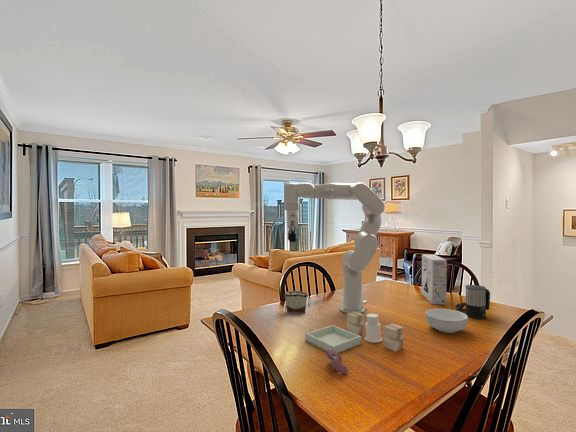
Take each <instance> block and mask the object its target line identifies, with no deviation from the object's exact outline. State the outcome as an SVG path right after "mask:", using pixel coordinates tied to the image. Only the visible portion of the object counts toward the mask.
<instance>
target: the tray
mask: <svg viewBox="0 0 576 432" xmlns="http://www.w3.org/2000/svg"><path fill="white" fill-rule="evenodd" d="M304 335H305V336H304V338H305V342H307V343H308V344H310V345H313V346H314V347H317V348H319V349H321V350H323V351H325V352H326V350H328V349H331V348H332V349H333V350H334V351H336V352H337V353H338V354H339V353H342V352H344V351H347V350H349V349H352V348H354V347H357V346H359V345H361V344H362V335H360V334H359V335H357V334H354V333H352V332H349V331H347V329H343V328H342V327H338V326H337V325H333V324H331V325H328V326H325V327H322V328H319V329H315V330H313V331H309V332H305V334H304Z"/></svg>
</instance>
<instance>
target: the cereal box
mask: <svg viewBox="0 0 576 432" xmlns="http://www.w3.org/2000/svg"><path fill="white" fill-rule="evenodd" d="M447 263H448V261H447V259H445V258H442V257H441V256H438V255H436V254H431V253H430V254H428V253H427V254H424V253H423V254H421V295H422V296H423V297H424V298H425V299H426V300H427V301H428V302H430V304H431V305H445V306H447V277H448V276H447V271H448V270H447V265H448V264H447Z"/></svg>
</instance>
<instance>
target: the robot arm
mask: <svg viewBox="0 0 576 432" xmlns="http://www.w3.org/2000/svg"><path fill="white" fill-rule="evenodd" d="M283 186H284V187H283V189H284V191H283V193H284V195H283V198H284V199H283V201H284V202H283V203H284V207H283V208H284V211H286V225H287V226H286V228H287V240H288V241H289V243H295V242H297V234H296V230H299V229H298V228H299V225H298V223H299V222H298V220H299V218H298V211H299V210H300V198H302V199H325V200H344V201H345V200H346V201H347V200H349V201H350V200H351V201H353V200H354V201H357V200H358V201H359V202H360V203H361V204H362V205H361V209H362V211H363V214H364V221H363V223H362V225H361V227H360V229H359V231H358V232H357V234H356V235H355V238H354V239H353V244H354V247H355V249H349V250H347V251H345V252H344V254H343V256H342V260H341V261H342V270H343V271H342V272H343V279H342V280H343V282H342V286H343V289H342V290H343V292H342V293H343V295H342V296H343V298H342V300H343V303H342V305H341V306H340V312H342V313H345V314H347V313H351V312H354V311H355V312H358V313H361V314H364V313H365V311H366V309H365V307H364V305H367V304H368V301H367V300H363V294H362V293H363V271H364V270H365V269H366V268H367V267H368V265H369V264H370V263H371V260H372V258H373V257H374V255H375V253H376V251H377V250H378V246H379V241H378V238H377V237H376V236H377V234H378V233H379V230H380V228H381V225H382V216H381V215H382V214H383V213H384V211H385V207H386V206H385V203H384V201H383V200H382V199H381V197H380V196H378V194H377V193H376V192H374V190H372V189H371V188H370V186H368V185H367V184H365V182H355V183H352V182H351V183H350V182H348V183H347V182H346V183H345V182H344V183H343V182H329V183H324V184H323V183H322V184H312V183H310V182H302V183H295V182H294V183H293V182H291V183H290V182H289V183H288V182H287V183H285V184H284V185H283Z"/></svg>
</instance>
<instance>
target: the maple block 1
mask: <svg viewBox="0 0 576 432" xmlns="http://www.w3.org/2000/svg"><path fill="white" fill-rule="evenodd" d="M364 316H365V315H364V313H358V312H355V311H354V312H351V313H346V330H347V331H349V332H352V333H354V334H357V335H359V336H360V335H361V334H362V335H363V333H364Z"/></svg>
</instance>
